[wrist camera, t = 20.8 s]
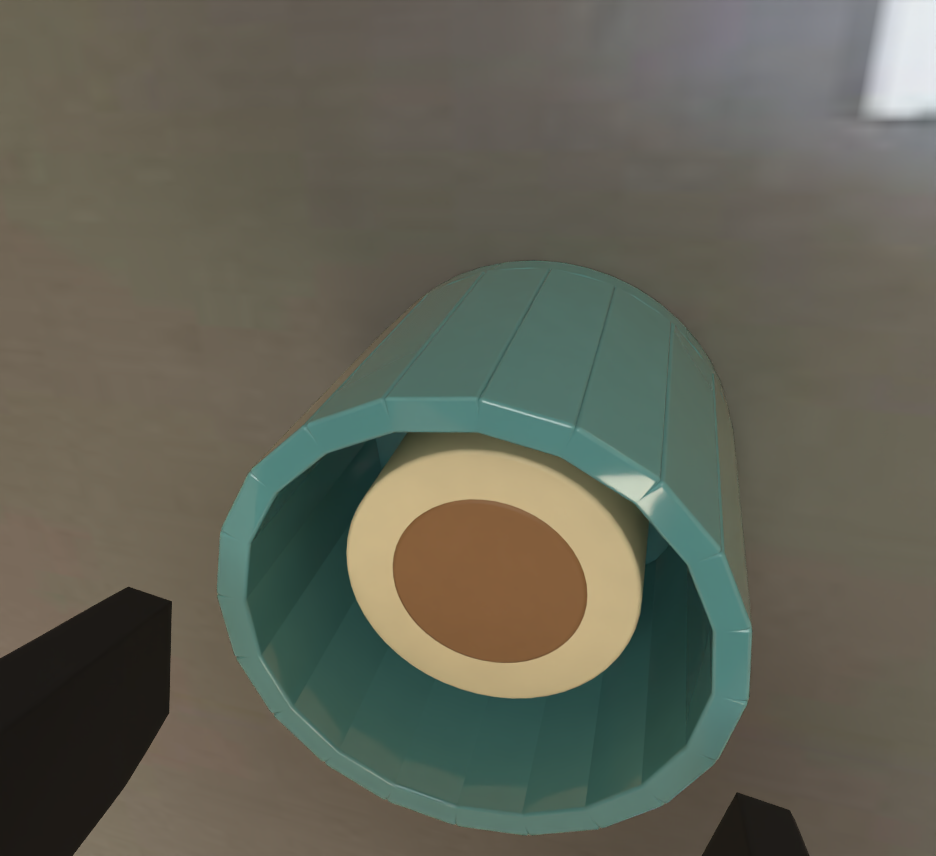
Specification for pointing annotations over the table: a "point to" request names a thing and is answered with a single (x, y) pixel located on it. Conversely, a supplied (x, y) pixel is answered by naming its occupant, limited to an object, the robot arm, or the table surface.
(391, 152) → the table surface
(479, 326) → the pen holder
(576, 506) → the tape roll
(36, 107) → the table surface
